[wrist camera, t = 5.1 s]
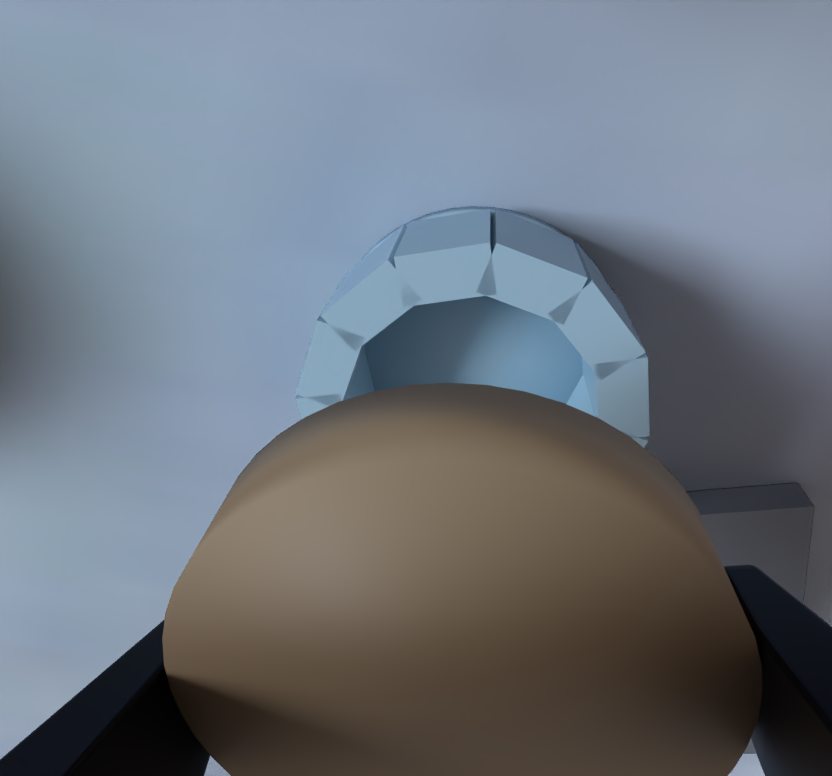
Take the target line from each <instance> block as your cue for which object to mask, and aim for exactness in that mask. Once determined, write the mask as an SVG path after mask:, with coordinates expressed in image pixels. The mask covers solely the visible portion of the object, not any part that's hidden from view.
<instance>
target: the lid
mask: <svg viewBox="0 0 832 776" xmlns="http://www.w3.org/2000/svg"><path fill="white" fill-rule="evenodd" d="M162 643H163V658H164V667H165V671H166V675H167V679H168V683H169V687H170V690H171V692H172V695H173V697H174V699H175V702H176V704H177V706H178V708H179V710H180V712H181V714H182V716H183V718H184V720H185V721H186V723H187V724H188V726H189V728H190V729H191V731H192V732H193V734H194V736H195V737H196V738H197V739H198V741H199V742H200V743H201V744H202V746H203V747H204V748H205V749H206V750H207V752H208V753H209V754H210V755H211V757H212V758H213V759H214V760H216V761H217V762H218V763H219V764H220V765H221V766H222V767H223V768H224V769H225V770H226V771H227V772H228V773H229V774H230V775H231V776H727V775H728V774H729V773H730V772H731V771H732V770H733V768H734V767H735V765H736V764H737V762H738V761H739V759H740V757H741V756H742V754H743V753H744V751H745V750H746V748H747V746H748V744H749V741H750V739H751V736H752V734H753V731H754V729H755V726H756V724H757V722H758V716H759V711H760V705H761V698H762V664H761V660H760V656H759V652H758V647H757V643H756V639H755V636H754V633H753V631H752V629H751V627H750V625H749V622H748V620H747V618H746V616H745V613H744V611H743V609H742V607H741V604H740V602H739V600H738V598H737V595H736V593H735V591H734V589H733V587H732V584H731V582H730V580H729V578H728V575H727V573H726V571H725V569H724V566H723V564H722V562H721V560H720V557H719V555H718V553H717V551H716V548H715V546H714V544H713V542H712V540H711V537H710V535H709V533H708V531H707V528H706V526H705V524H704V522H703V520H702V517H701V515H700V513H699V511H698V509H697V507H696V506H695V504H694V503H693V501H692V500H691V498H690V497H689V495H688V494H687V492H686V491H685V489H684V488H683V486H682V485H681V483H680V482H679V481H678V480H677V479H676V478H675V477H674V476H673V475H672V474H671V473H670V471H669V470H668V469H667V468H666V467H665V466H664V465H663V464H662V463H661V462H660V461H659V460H658V459H657V458H656V457H655V456H654V455H652V454H651V453H650V452H648V451H647V450H646V449H645V448H643V447H642V446H641V445H640V444H638V443H637V442H636V441H635V440H633V439H632V438H631V437H629V436H628V435H626V434H624V433H623V432H621V431H619V430H618V429H616V428H614V427H613V426H611V425H609V424H608V423H606V422H604V421H603V420H601V419H599V418H597V417H595V416H593V415H590V414H588V413H586V412H583V411H581V410H579V409H577V408H574V407H572V406H570V405H567V404H565V403H562V402H559V401H556V400H552V399H549V398H546V397H542V396H539V395H535V394H532V393H529V392H525V391H519V390H513V389H508V388H502V387H496V386H490V385H480V384H462V383H433V384H417V385H406V386H400V387H395V388H389V389H384V390H378V391H373V392H369V393H366V394H362V395H359V396H356V397H353V398H350V399H346V400H343V401H340V402H337V403H335V404H333V405H330V406H328V407H326V408H324V409H322V410H320V411H317V412H315V413H313V414H311V415H309V416H307V417H305V418H303V419H302V420H300V421H299V422H297V423H296V424H294V425H293V426H291V427H289V428H288V429H286V430H285V431H283V432H282V433H280V434H279V435H278V436H276V437H275V438H274V439H273V440H272V441H271V442H270V443H268V444H267V445H266V446H265V447H264V448H263V449H262V450H261V451H259V452H258V453H257V454H256V455H255V456H254V458H253V459H252V460H251V461H250V463H249V464H248V465H247V466H246V467H245V469H244V470H243V471H242V472H241V474H240V475H239V476H238V478H237V479H236V481H235V483H234V485H233V486H232V488H231V490H230V491H229V493H228V495H227V497H226V498H225V500H224V502H223V503H222V505H221V507H220V509H219V510H218V512H217V514H216V515H215V517H214V519H213V521H212V522H211V524H210V526H209V527H208V529H207V531H206V533H205V534H204V536H203V538H202V540H201V541H200V543H199V545H198V546H197V548H196V550H195V552H194V553H193V555H192V557H191V558H190V560H189V562H188V564H187V565H186V567H185V569H184V571H183V572H182V574H181V576H180V578H179V579H178V581H177V583H176V585H175V586H174V589H173V592H172V595H171V598H170V601H169V604H168V607H167V610H166V613H165V621H164V629H163V637H162Z"/></svg>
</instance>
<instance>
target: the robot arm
mask: <svg viewBox="0 0 832 776" xmlns="http://www.w3.org/2000/svg"><path fill="white" fill-rule="evenodd" d="M724 569H725V571H726V573H727V575H728V578H729V580H730V582H731V584H732V587H733V589H734V591H735V593H736V595H737V598H738V600H739V602H740V604H741V607H742V609H743V611H744V613H745V616H746V618H747V620H748V622H749V625H750V627H751V629H752V631H753V633H754V636H755V639H756V643H757V647H758V652H759V656H760V660H761V664H762V698H761V705H760V711H759V716H758V722H757V724H756V726H755V729H754V731H753V734H752V736H751V739H752V742H753V745H754V748H755V751H756V753H757V756H758V759H759V761H760V764H761V767H762V769H763V771H764V774H765V776H832V627H831V626H830V625H829V624H828V623H826V622H825V621H824V620H823V619H821V618H820V617H819V616H818V615H816V614H815V613H814V612H813V611H811V610H810V609H809V608H808V607H806V606H805V605H804V604H803V603H801V602H800V601H799V600H798V599H796V598H795V597H794V596H793V595H791V594H790V593H789V592H788V591H786V590H785V589H784V588H783V587H781V586H780V585H779V584H778V583H776V582H775V581H774V580H773V579H771V578H770V577H769V576H768V575H766V574H765V573H764V572H763V571H761V570H760V569H759V568H757V567H755V566H753V565H734V566H724ZM164 621H165V620H163V621H162V622H161V623H160V624H159V625H158V626H156V627H155V628H154V629H153V630H152V631H151V632H149V633H148V634H147V635H146V636H145V637H144V638H142V639H141V640H140V641H139V642H138V643H136V644H135V645H134V646H133V647H132V648H131V649H129V650H128V651H127V652H126V653H125V654H124V655H122V656H121V657H120V658H119V659H118V660H117V661H115V662H114V663H113V664H112V665H111V666H110V667H108V668H107V669H106V670H105V671H104V672H102V673H101V674H100V675H99V676H98V677H97V678H95V679H94V680H93V681H92V682H91V683H90V684H88V685H87V686H86V687H85V688H84V689H83V690H81V691H80V692H79V693H78V694H77V695H76V696H74V697H73V698H72V699H71V700H70V701H68V702H67V703H66V704H65V705H64V706H63V707H61V708H60V709H59V710H58V711H57V712H56V713H54V714H53V715H52V716H51V717H50V718H49V719H47V720H46V721H45V722H44V723H43V724H41V725H40V726H39V727H38V728H37V729H36V730H34V731H33V732H32V733H31V734H30V735H29V736H27V737H26V738H25V739H24V740H23V741H22V742H20V743H19V744H18V745H17V746H16V747H14V748H13V749H12V750H11V751H10V752H9V753H7V754H6V755H5V756H4V757H3V758H2V759H0V776H204V774H205V771H206V767H207V764H208V761H209V757H210V754H209V753H208V752H207V750H206V749H205V748H204V747H203V746H202V744H201V743H200V742H199V741H198V739H197V738H196V737H195V736H194V734H193V732H192V731H191V729H190V728H189V726H188V724H187V723H186V721H185V720H184V718H183V716H182V714H181V712H180V710H179V708H178V706H177V704H176V702H175V699H174V697H173V695H172V692H171V690H170V687H169V683H168V679H167V675H166V671H165V667H164V658H163V643H162V637H163V629H164Z"/></svg>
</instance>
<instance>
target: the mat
mask: <svg viewBox="0 0 832 776" xmlns="http://www.w3.org/2000/svg"><path fill="white" fill-rule="evenodd" d="M687 494H688V495H689V497H690V498H691V500H692V501H693V503H694V504H695V506H696V507H697V509H698V511H699V513H700V515H701V517H702V520H703V522H704V524H705V526H706V528H707V531H708V533H709V535H710V537H711V540H712V542H713V544H714V546H715V548H716V551H717V553H718V555H719V557H720V560H721V562H722V564H723V566H734V565H753V566H755V567H757V568H759V569H760V570H761V571H763V572H764V573H765V574H766V575H768V576H769V577H770V578H771V579H773V580H774V581H775V582H776V583H778V584H779V585H780V586H781V587H783V588H784V589H785V590H786V591H788V592H789V593H790V594H791V595H793V596H794V597H795V598H796V599H798V600H799V601H800V602H801V603H803V600H804V591H805V583H806V574H807V566H808V557H809V549H810V540H811V532H812V523H813V515H814V505H813V504H812V502H811V501H810V499H809V498H808V496H807V495H806V494H805V492H804V491H803V489H802V488H801V486H800V485H799V483H790V484H777V485H765V486H753V487H740V488H728V489H716V490H703V491H691V492H687ZM754 753H756V751H755V748H754V745H753V742H752V739H750V741H749V744H748V746H747V748H746V750H745V751H744V753H743V754H754Z"/></svg>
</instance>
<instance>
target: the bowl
mask: <svg viewBox="0 0 832 776" xmlns="http://www.w3.org/2000/svg"><path fill="white" fill-rule="evenodd" d="M433 383H462V384H480V385H490V386H496V387H502V388H508V389H513V390H519V391H525V392H529V393H532V394H535V395H539V396H542V397H546V398H549V399H552V400H556V401H559V402H562V403H565V404H567V405H570V406H572V407H574V408H577V409H579V410H581V411H583V412H586V413H588V414H590V415H593V416H595V417H597V418H599V419H601V420H603V421H604V422H606V423H608V424H609V425H611V426H613V427H614V428H616V429H618V430H619V431H621V432H623V433H624V434H626V435H628V436H629V437H631V438H632V439H633V440H635V441H636V442H637V443H638V444H640V445H641V446H642V447H643V448H644V447H645V446H646V444H647V443H648V440H647V437H648V436H650V427H649V385H648V357H647V355H646V351H645V349H644V347H643V345H642V343H641V341H640V339H639V337H638V335H637V333H636V331H635V329H634V327H633V325H632V323H631V321H630V319H629V317H628V315H627V313H626V311H625V309H624V307H623V305H622V303H621V301H620V300H619V299H618V297H617V296H616V295H615V293H614V292H613V291H612V289H611V288H610V287H609V285H608V284H607V282H606V280H605V279H604V277H603V275H602V274H601V272H600V271H599V269H598V268H597V266H596V264H595V263H594V262H593V261H592V260H591V258H590V257H589V256H588V255H587V254H586V253H585V251H584V250H583V249H582V248H581V247H580V246H579V245H578V243H577V242H576V243H575V242H574V241H573V240H572V238H569V237H568V236H567V235H565V234H563V233H562V232H560V231H559V230H557V229H556V228H554V227H553V226H551V225H549V224H547V223H545V222H543V221H541V220H538V219H536V218H534V217H532V216H529V215H525V214H522V213H519V212H516V211H512V210H506V209H501V208H495V207H475V206H470V207H460V208H451V209H446V210H442V211H438V212H433V213H430V214H427V215H425V216H422V217H419V218H417V219H414V220H412V221H410V222H408V223H406V224H404V225H402V226H401V227H399V228H397V229H395V230H394V231H392V232H391V233H390V234H388V235H387V236H386V237H384V238H383V239H381V240H380V241H379V242H378V243H377V244H376V245H375V246H374V247H373V248H372V249H371V250H370V251H369V252H368V253H367V254H366V255H365V256H364V257H363V259H362V260H361V261H360V262H359V263H358V264H356V265H355V266H354V267H353V268H352V269H350V270H349V271H348V272H347V273H346V275H345V276H344V278H343V279H342V281H341V283H340V284H339V286H338V287H337V289H336V290H335V292H334V294H333V295H332V297H331V298H330V300H329V302H328V303H327V305H326V306H325V308H324V310H323V311H322V313H321V314H320V316H319V318H318V319H317V322H316V325H315V328H314V332H313V335H312V338H311V342H310V345H309V348H308V352H307V355H306V358H305V362H304V365H303V368H302V372H301V375H300V378H299V382H298V385H297V388H296V392H295V394H297V396H296V398H295V401H296V404H297V407H298V410H299V414H300V417H301V420H302V419H303V418H305V417H307V416H309V415H311V414H313V413H315V412H317V411H320V410H322V409H324V408H326V407H328V406H330V405H333V404H335V403H337V402H340V401H343V400H346V399H350V398H353V397H356V396H359V395H362V394H366V393H369V392H373V391H378V390H384V389H389V388H395V387H400V386H406V385H417V384H433Z"/></svg>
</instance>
